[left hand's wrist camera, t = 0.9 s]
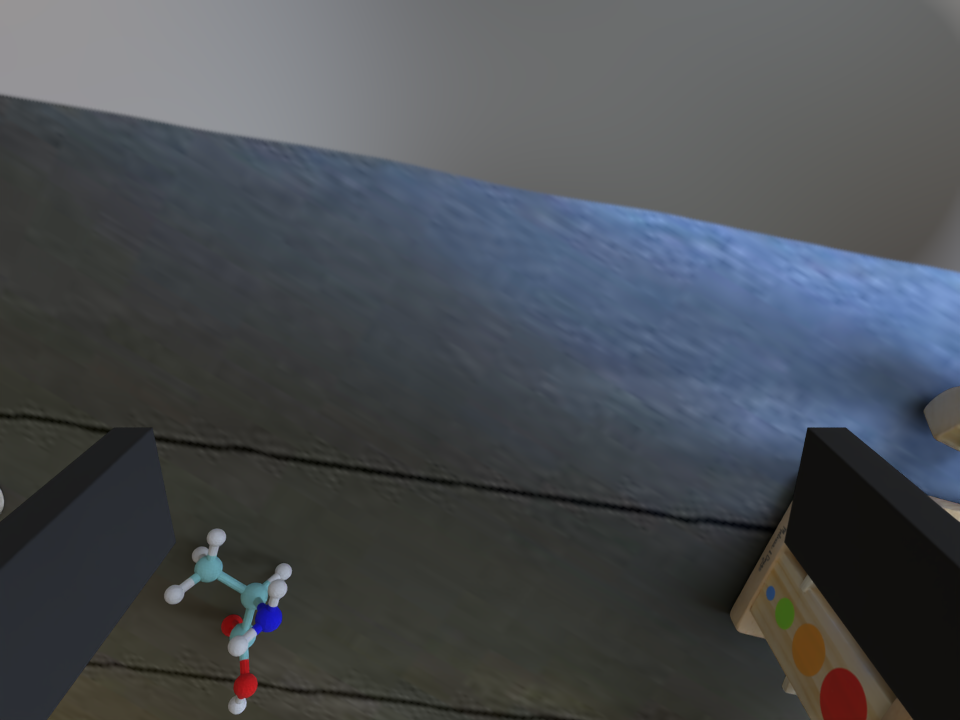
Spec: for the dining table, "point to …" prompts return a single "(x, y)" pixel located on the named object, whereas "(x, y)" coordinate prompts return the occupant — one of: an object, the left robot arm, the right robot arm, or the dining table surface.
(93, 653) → the left robot arm
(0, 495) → the jar
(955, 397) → the pounding bench toy
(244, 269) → the dining table surface
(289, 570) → the molecular model
